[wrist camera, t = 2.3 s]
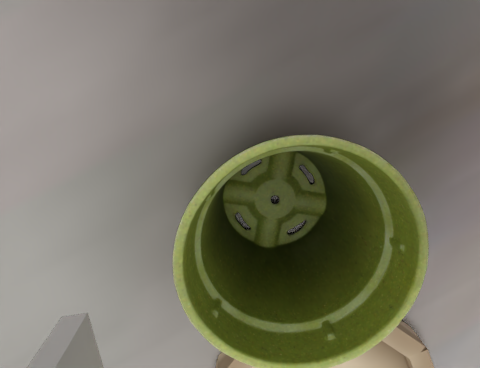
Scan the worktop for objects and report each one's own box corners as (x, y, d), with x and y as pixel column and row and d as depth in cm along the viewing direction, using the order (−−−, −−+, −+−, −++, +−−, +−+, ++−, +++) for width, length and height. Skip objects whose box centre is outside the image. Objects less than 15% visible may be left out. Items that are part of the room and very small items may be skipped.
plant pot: (158, 185, 22) (117, 251, 13) (289, 78, 20) (334, 76, 12) (258, 296, 24) (277, 412, 15) (382, 205, 23) (476, 279, 14)
